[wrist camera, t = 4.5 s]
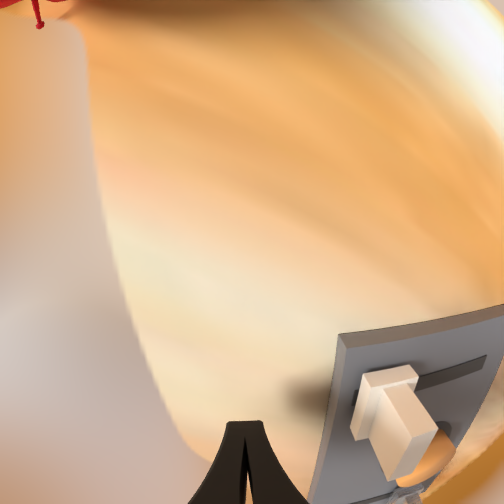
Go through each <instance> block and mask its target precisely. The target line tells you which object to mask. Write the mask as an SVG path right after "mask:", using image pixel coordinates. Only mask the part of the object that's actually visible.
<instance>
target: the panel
mask: <svg viewBox="0 0 504 504" xmlns="http://www.w3.org/2000/svg"><path fill="white" fill-rule="evenodd" d="M503 355H504V304H502V305H498V306H495V307H491V308H487V309H483V310H478V311H474V312H470V313H465V314H461V315H456V316H451V317H447V318H442V319H437V320H431V321H426V322H421V323H415V324H409V325H403V326H397V327H390V328H384V329H377V330H369V331H362V332H354V333H346V334H338V341H337V349H336V357H335V364H334V371H333V378H332V385H331V391H330V397H329V403H328V409H327V414H326V419H325V425H324V430H323V435H322V440H321V444H320V449H319V454H318V458H317V462H316V467H315V471H314V475H313V479H312V483H311V487H310V490H309V494H308V498H307V502H308V503H309V504H385V503H386V501H387V500H388V499H389V497H390V496H391V494H392V493H393V492H394V490H395V489H398V488H400V487H399V486H398V484H397V482H396V479H395V480H392V481H389V482H388V481H387V479H386V477H385V474H384V472H383V470H382V467H381V465H380V463H379V460H378V458H377V456H376V454H375V451H374V449H373V447H372V445H371V442H370V440H369V438H366V439H362V440H357V441H355V439H354V436H353V434H352V431H351V429H350V425H351V421H352V417H353V413H354V410H355V406H356V402H357V397H358V393H359V389H360V385H361V380H362V375H363V373H369V372H375V371H380V370H385V369H390V368H395V367H400V366H404V365H410V366H411V367H412V368H413V370H414V371H415V372H416V373H417V375H418V376H419V378H418V381H417V384H416V387H415V390H414V394H415V395H416V397H417V398H418V399H419V401H420V402H421V404H422V405H423V406H424V408H425V409H426V411H427V412H428V414H429V415H430V417H431V418H432V419H433V421H434V422H435V424H436V425H437V427H438V429H442V430H443V431H444V432H445V433H446V435H447V436H448V438H449V439H450V441H451V442H452V444H453V445H454V446H455V448H457V447H458V445H459V443H460V442H461V440H462V439H463V437H464V435H465V434H466V432H467V430H468V429H469V427H470V425H471V423H472V422H473V420H474V418H475V416H476V414H477V412H478V411H479V409H480V407H481V405H482V403H483V401H484V399H485V397H486V395H487V393H488V391H489V388H490V386H491V384H492V382H493V380H494V377H495V375H496V373H497V370H498V368H499V366H500V363H501V361H502V358H503ZM441 470H442V469H441ZM441 470H440V471H441ZM440 471H439V472H438V473H436V474H435V475H433V476H432V477H430V478H428V479H427V480H425V481H423V482H421V483H422V485H423V487H424V489H423V491H422V492H421V493H423V492H425V491H426V490H427V488H428V487H429V486H430V485H431V483H432V482H433V481H434V479H435V478H436V477H437V475H438V474H439V473H440Z"/></svg>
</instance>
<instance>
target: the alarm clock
mask: <svg viewBox="0 0 504 504" xmlns="http://www.w3.org/2000/svg"><path fill="white" fill-rule="evenodd" d="M19 1H22V0H0V8H4V7H7V6H10V5H12V4H14V3H17V2H19ZM31 1H32V5H33V9H34V11H35V15H36V19H37V22H38V24H37V25H36V28H37V29H41V28H42V27H44V22H43V21H41V16H40V11H39V3H38V0H31ZM48 1H51V2H61V1H66V0H48Z"/></svg>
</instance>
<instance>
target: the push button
mask: <svg viewBox="0 0 504 504" xmlns="http://www.w3.org/2000/svg"><path fill="white" fill-rule="evenodd" d="M455 452H456V448H455V446H454V445H453V444H452V442H451V441H450V439H449V438H448V436H447V435H446V433H445V432H444V431H443V430H442V429H438V430H437V432H436V434H435V436H434V438H433V439H432V441H431V443H430V445H429V446H428V448H427V450H426V452H425V453H424V455H423V457H422V458H421V460H420V462H419V463H418V465H417V466H416V468H415V470H414V471H413V473H412V474H409V475H407V476H404V477H401V478H398V479H396V482H397V484H398V486H399V487H410V486H413V485H416V484H419V483H421V482H423V481H425V480H427V479H428V478H430V477H432V476H433V475H435V474H436V473H438V472H439V471H440V470H441V469H443V468H444V467H445V466H446V465H447V464H448V463H449V462H450V461H451V459H452V458H453V456H454V455H455Z"/></svg>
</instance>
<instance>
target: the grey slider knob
mask: <svg viewBox="0 0 504 504" xmlns="http://www.w3.org/2000/svg"><path fill="white" fill-rule="evenodd" d="M423 489H424V487H423V485H422V483H419V484H416V485H413V486H410V487H400V488H398V489H395V490H394V492H393V493H392V494H391V496H390V497H389V499H388V500H387V501H386V503H385V504H423V503H422V501H421V499H420V497H419V494H420V493H421V492H422V491H423Z"/></svg>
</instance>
